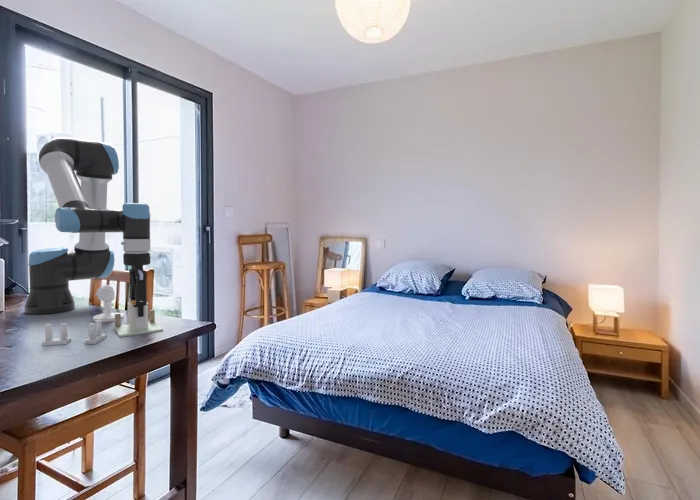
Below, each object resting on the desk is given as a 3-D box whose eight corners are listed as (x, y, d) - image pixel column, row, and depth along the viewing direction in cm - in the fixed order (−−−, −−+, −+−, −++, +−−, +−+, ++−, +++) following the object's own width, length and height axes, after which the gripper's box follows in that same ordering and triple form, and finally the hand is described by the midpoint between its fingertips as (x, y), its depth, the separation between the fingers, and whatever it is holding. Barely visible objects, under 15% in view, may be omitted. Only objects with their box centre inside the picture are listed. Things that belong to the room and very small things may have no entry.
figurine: (109, 323, 132) (108, 287, 131) (86, 321, 134) (85, 286, 133) (129, 316, 141) (128, 283, 140) (107, 314, 143) (107, 282, 142)
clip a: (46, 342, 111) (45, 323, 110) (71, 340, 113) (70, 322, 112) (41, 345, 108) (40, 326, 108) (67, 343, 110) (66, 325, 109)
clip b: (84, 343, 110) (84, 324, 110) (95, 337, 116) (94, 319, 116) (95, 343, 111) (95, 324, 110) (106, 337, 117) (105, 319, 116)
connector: (128, 326, 126) (127, 300, 125) (145, 324, 129) (145, 298, 128) (130, 330, 122) (130, 303, 121) (148, 328, 125) (148, 301, 124)
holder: (114, 327, 127) (113, 313, 126) (154, 322, 134) (154, 309, 134) (119, 337, 117) (119, 321, 117) (162, 330, 124) (162, 316, 124)
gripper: (118, 250, 129) (120, 319, 131) (128, 255, 114) (130, 333, 115) (144, 249, 134) (145, 316, 135) (156, 254, 118) (157, 329, 120)
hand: (138, 323), depth 125 cm, fingers open, 7 cm apart
